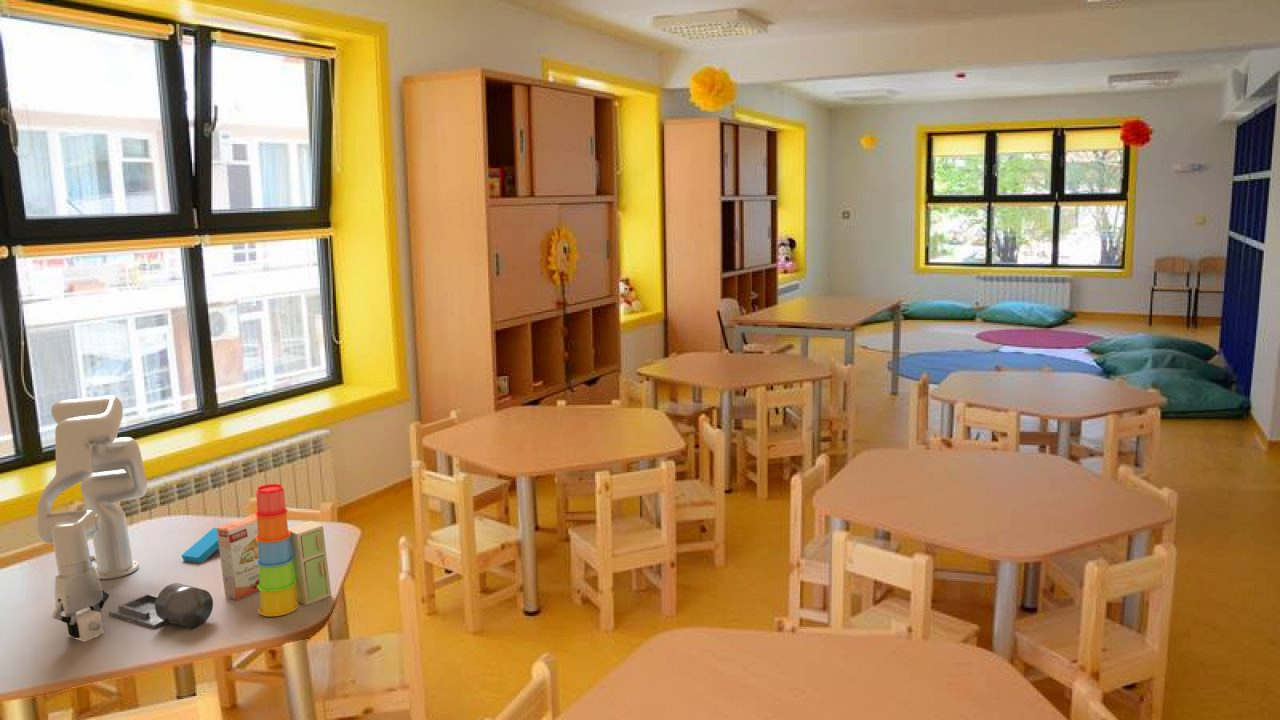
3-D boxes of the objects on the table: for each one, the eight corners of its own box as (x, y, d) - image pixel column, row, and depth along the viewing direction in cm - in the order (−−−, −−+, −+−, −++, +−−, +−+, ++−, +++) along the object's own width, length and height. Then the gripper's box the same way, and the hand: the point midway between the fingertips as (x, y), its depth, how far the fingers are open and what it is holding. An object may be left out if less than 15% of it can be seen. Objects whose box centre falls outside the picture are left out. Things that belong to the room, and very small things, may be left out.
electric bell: (109, 615, 265) (103, 580, 263) (149, 597, 275) (144, 564, 273) (178, 636, 250) (173, 600, 249) (218, 616, 261) (213, 582, 259)
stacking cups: (268, 601, 269) (252, 482, 262) (304, 600, 268) (289, 481, 262) (252, 618, 259) (236, 495, 252) (290, 617, 258) (274, 493, 251)
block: (69, 636, 253) (65, 615, 252) (87, 628, 257) (84, 607, 256) (89, 643, 249) (85, 621, 248) (108, 635, 253) (104, 613, 252)
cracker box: (238, 601, 270) (228, 530, 266) (224, 597, 273) (214, 527, 269) (280, 582, 281) (271, 514, 277) (266, 578, 285) (257, 511, 281)
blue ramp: (205, 575, 301) (244, 540, 316) (198, 557, 298) (237, 522, 313) (189, 573, 304) (228, 538, 319) (181, 555, 301) (221, 521, 316)
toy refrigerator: (307, 607, 264) (298, 534, 260) (293, 600, 269) (284, 528, 265) (333, 596, 270) (324, 525, 266) (319, 590, 275) (311, 520, 271)
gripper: (97, 553, 259) (108, 616, 263) (32, 577, 245) (44, 643, 248) (114, 557, 255) (125, 621, 259) (49, 582, 241) (61, 649, 244)
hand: (85, 631), depth 253 cm, fingers closed on block, 5 cm apart
